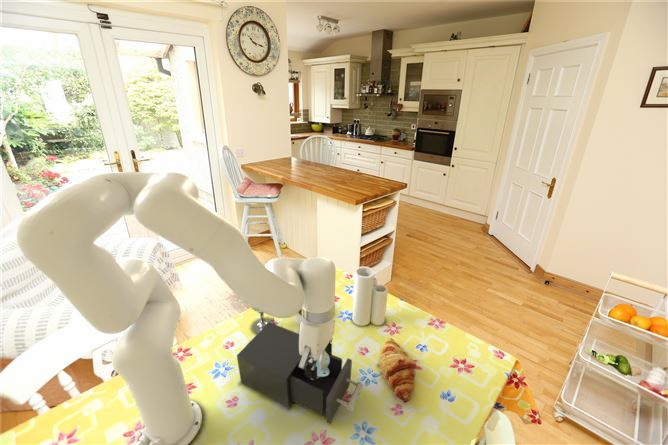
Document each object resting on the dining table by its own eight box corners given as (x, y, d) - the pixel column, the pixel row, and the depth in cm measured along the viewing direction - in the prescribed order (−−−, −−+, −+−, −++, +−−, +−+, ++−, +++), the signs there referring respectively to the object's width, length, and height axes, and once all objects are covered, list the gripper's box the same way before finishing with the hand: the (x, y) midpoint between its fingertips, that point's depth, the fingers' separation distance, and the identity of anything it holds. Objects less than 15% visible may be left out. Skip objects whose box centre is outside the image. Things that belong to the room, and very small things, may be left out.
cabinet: (314, 366, 85) (314, 340, 81) (288, 408, 74) (286, 379, 70) (271, 347, 91) (268, 321, 87) (241, 383, 80) (236, 355, 76)
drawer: (365, 389, 78) (367, 366, 74) (347, 433, 68) (348, 409, 64) (305, 362, 85) (304, 340, 82) (280, 398, 75) (278, 375, 72)
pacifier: (304, 382, 70) (329, 382, 70) (303, 364, 67) (329, 364, 67) (307, 357, 76) (329, 357, 76) (306, 339, 74) (329, 339, 74)
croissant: (379, 351, 95) (369, 334, 92) (407, 339, 93) (398, 322, 90) (394, 416, 75) (382, 398, 72) (431, 402, 74) (420, 383, 71)
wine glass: (246, 330, 98) (240, 294, 92) (261, 315, 104) (257, 280, 98) (265, 338, 95) (261, 301, 89) (279, 322, 101) (276, 287, 95)
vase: (353, 326, 100) (356, 278, 92) (350, 312, 107) (353, 265, 98) (385, 324, 101) (391, 276, 93) (381, 310, 108) (385, 264, 99)
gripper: (321, 283, 74) (321, 336, 82) (282, 328, 60) (286, 387, 67) (348, 292, 71) (346, 345, 79) (313, 341, 57) (314, 401, 64)
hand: (318, 364), depth 73 cm, fingers closed on pacifier, 7 cm apart
